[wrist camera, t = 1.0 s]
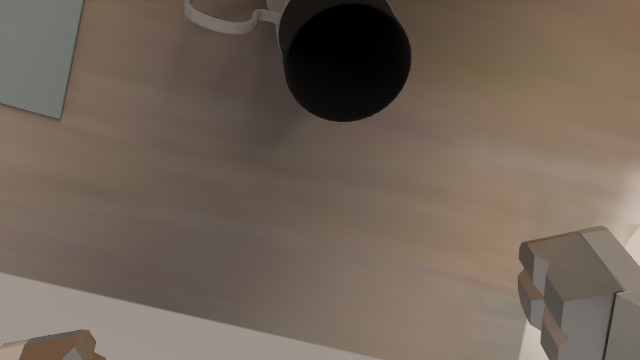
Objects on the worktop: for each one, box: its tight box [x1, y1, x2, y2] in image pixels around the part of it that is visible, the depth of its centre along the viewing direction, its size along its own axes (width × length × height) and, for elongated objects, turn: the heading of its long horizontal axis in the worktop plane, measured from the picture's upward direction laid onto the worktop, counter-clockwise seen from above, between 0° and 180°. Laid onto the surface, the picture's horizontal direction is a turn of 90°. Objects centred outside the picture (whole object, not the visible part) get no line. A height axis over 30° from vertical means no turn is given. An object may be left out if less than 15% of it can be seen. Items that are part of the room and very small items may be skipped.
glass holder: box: [183, 0, 411, 122], centre depth 40 cm, size 9×14×15 cm, turn 73°
